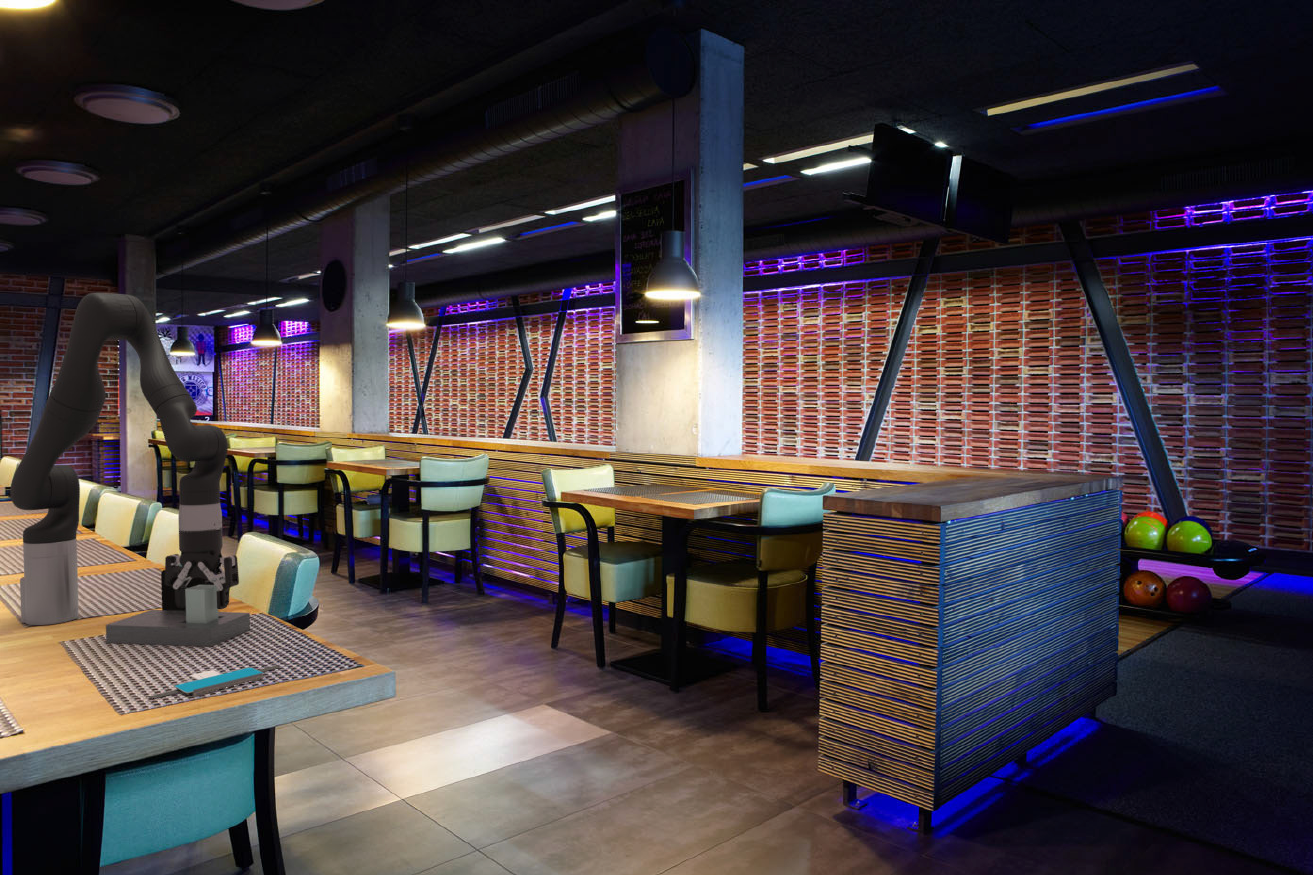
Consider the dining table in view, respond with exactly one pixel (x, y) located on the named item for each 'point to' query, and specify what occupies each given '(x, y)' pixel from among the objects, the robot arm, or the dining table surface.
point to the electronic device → (169, 591)
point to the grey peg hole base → (176, 629)
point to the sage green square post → (201, 604)
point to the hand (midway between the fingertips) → (202, 607)
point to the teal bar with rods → (216, 681)
